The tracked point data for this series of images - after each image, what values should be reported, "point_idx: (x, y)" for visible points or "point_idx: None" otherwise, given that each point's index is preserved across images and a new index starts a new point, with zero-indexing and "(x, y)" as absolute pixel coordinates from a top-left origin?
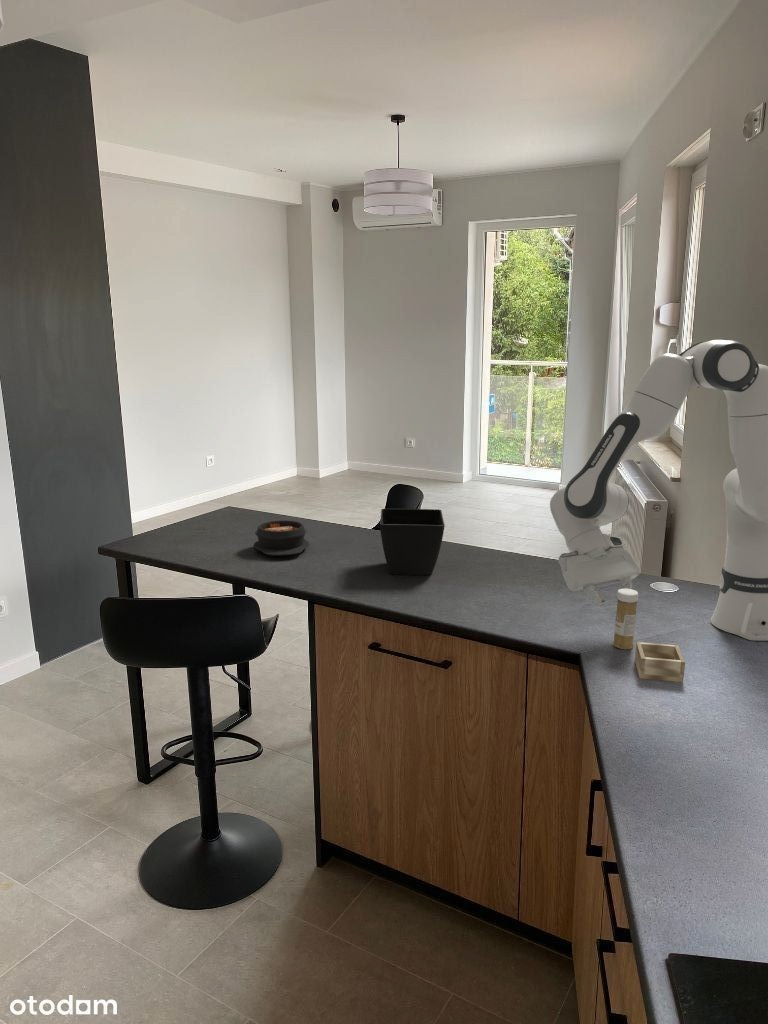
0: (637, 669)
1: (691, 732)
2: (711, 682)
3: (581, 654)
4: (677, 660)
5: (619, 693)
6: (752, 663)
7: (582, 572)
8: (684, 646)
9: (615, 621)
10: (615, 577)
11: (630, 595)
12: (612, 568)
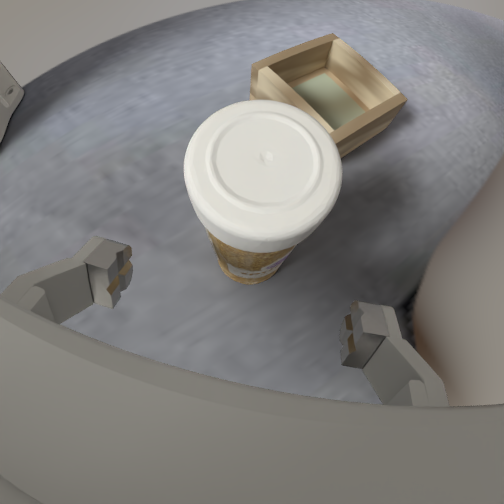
0: (360, 144)
1: (434, 40)
2: (273, 38)
3: (399, 300)
4: (340, 44)
5: (457, 136)
6: (126, 38)
7: (500, 491)
8: (120, 140)
9: (279, 263)
10: (134, 357)
11: (313, 118)
12: (70, 443)
